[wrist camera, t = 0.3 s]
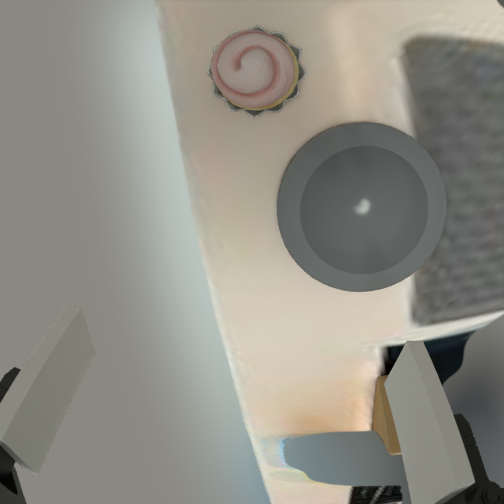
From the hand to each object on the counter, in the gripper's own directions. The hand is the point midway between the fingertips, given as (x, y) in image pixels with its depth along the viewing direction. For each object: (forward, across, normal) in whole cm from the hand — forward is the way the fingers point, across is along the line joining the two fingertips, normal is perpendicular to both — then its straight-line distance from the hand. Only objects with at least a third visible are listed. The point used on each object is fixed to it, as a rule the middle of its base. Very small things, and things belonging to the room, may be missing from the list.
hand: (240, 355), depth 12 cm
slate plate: (+25, +12, -2) cm, 28 cm away
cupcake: (+28, -1, +11) cm, 30 cm away
